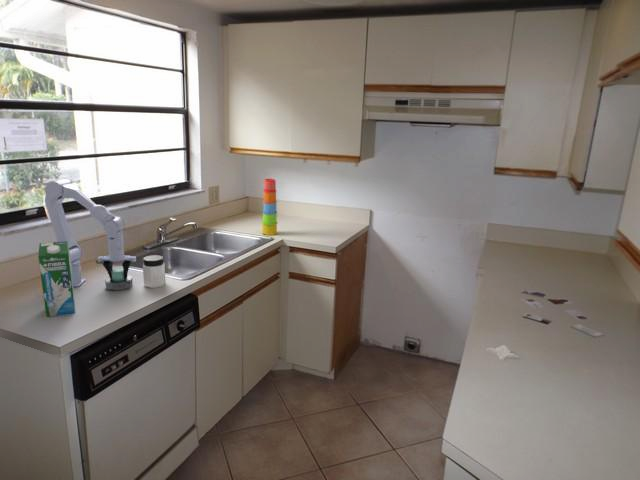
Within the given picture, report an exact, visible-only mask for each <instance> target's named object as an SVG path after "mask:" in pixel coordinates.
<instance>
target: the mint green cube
mask: <svg viewBox="0 0 640 480" xmlns="http://www.w3.org/2000/svg"><path fill="white" fill-rule="evenodd" d="M111 273H112V281H114V282H119V281H124V280H125V279H124V270H123V268H121V269H120V268H119V269H113V271H112V272H111Z"/></svg>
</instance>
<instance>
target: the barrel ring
mask: <svg viewBox="0 0 640 480" xmlns="http://www.w3.org/2000/svg"><path fill="white" fill-rule="evenodd" d="M104 282H105V288H106V290H108V291H111V292H121V291H125V290H129V289H131V288H132V287H133V277H132V276H131V275H128V274H127V278H126V279H125V280H124V281H119V282H114V281H112V279H110V277H107V278H106V279H105V280H104Z"/></svg>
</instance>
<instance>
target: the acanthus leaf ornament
mask: <svg viewBox="0 0 640 480" xmlns="http://www.w3.org/2000/svg"><path fill="white" fill-rule="evenodd" d="M486 351H487V352H489V353H492V354H493V355H496V356H498V358H499V359H500V360H501V361H504V360H505V358H508V359H514V358H517V359H519V356H518V355H516V354H515V353H511V350H510V349H509V348H508V347H507V346H506V345H500V346H499V347H496V348H494V347H487V348H486Z"/></svg>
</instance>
